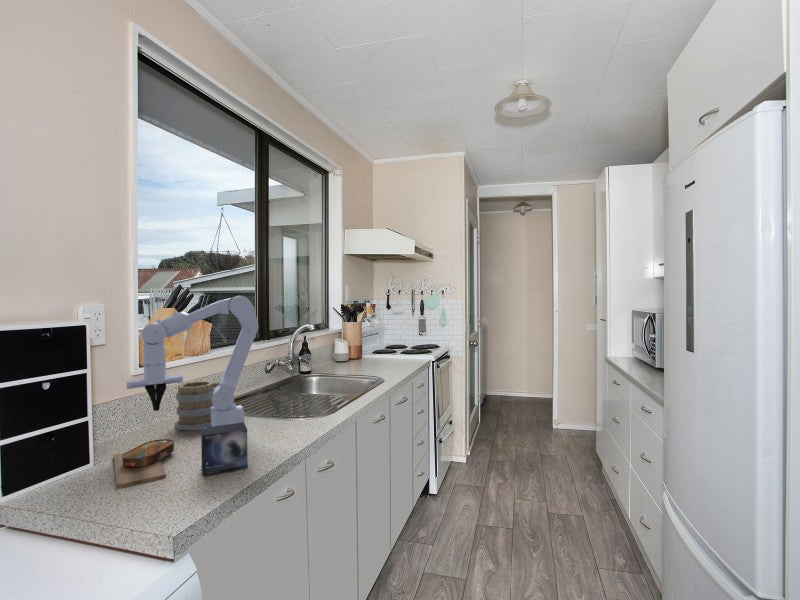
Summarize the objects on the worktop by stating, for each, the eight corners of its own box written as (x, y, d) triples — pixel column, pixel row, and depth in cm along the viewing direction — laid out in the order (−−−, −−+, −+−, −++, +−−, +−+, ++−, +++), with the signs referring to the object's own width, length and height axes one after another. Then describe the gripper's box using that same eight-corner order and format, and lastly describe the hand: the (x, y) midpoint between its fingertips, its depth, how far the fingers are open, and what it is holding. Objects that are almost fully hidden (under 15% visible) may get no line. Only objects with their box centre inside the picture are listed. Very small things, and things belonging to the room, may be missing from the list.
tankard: (182, 433, 143) (181, 386, 142) (171, 425, 152) (170, 381, 152) (243, 420, 156) (242, 377, 156) (230, 413, 165) (229, 373, 165)
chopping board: (155, 449, 128) (154, 446, 128) (165, 477, 108) (165, 474, 108) (113, 457, 122) (113, 454, 122) (117, 488, 103) (117, 484, 103)
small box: (203, 478, 108) (201, 434, 108) (201, 468, 114) (200, 427, 113) (248, 469, 113) (247, 427, 112) (244, 460, 118) (243, 421, 118)
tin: (145, 458, 111) (113, 455, 112) (144, 471, 111) (113, 468, 112) (180, 439, 126) (153, 436, 127) (180, 450, 126) (152, 447, 127)
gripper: (179, 360, 139) (181, 403, 139) (125, 365, 131) (126, 411, 131) (183, 362, 133) (184, 408, 133) (126, 368, 125) (128, 416, 125)
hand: (156, 410), depth 132 cm, fingers closed
